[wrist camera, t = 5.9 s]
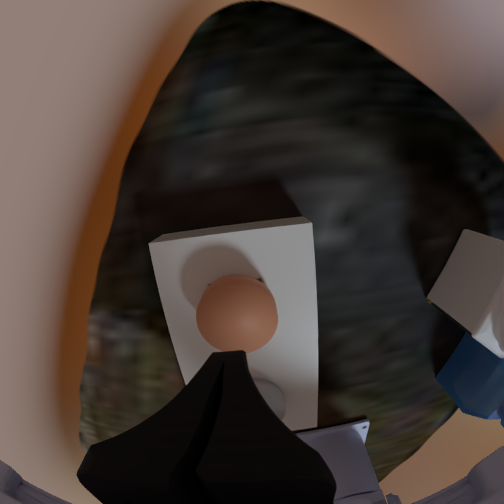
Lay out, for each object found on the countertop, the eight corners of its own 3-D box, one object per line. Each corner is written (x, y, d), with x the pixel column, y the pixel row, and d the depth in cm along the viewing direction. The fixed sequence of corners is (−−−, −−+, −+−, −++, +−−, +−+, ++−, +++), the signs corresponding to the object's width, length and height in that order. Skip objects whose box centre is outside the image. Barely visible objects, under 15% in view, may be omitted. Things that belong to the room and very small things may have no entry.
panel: (311, 404, 23) (316, 426, 20) (208, 413, 23) (204, 436, 20) (302, 216, 19) (311, 222, 16) (163, 234, 19) (148, 243, 16)
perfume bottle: (435, 377, 22) (490, 451, 11) (467, 328, 21) (538, 392, 9) (461, 383, 23) (511, 445, 11) (490, 341, 22) (550, 394, 10)
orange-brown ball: (276, 319, 19) (281, 349, 15) (212, 326, 19) (204, 356, 16) (269, 257, 18) (274, 277, 14) (200, 265, 18) (188, 286, 14)
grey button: (283, 395, 22) (287, 427, 18) (231, 400, 22) (228, 432, 18) (279, 355, 20) (284, 386, 17) (221, 360, 21) (216, 392, 17)
